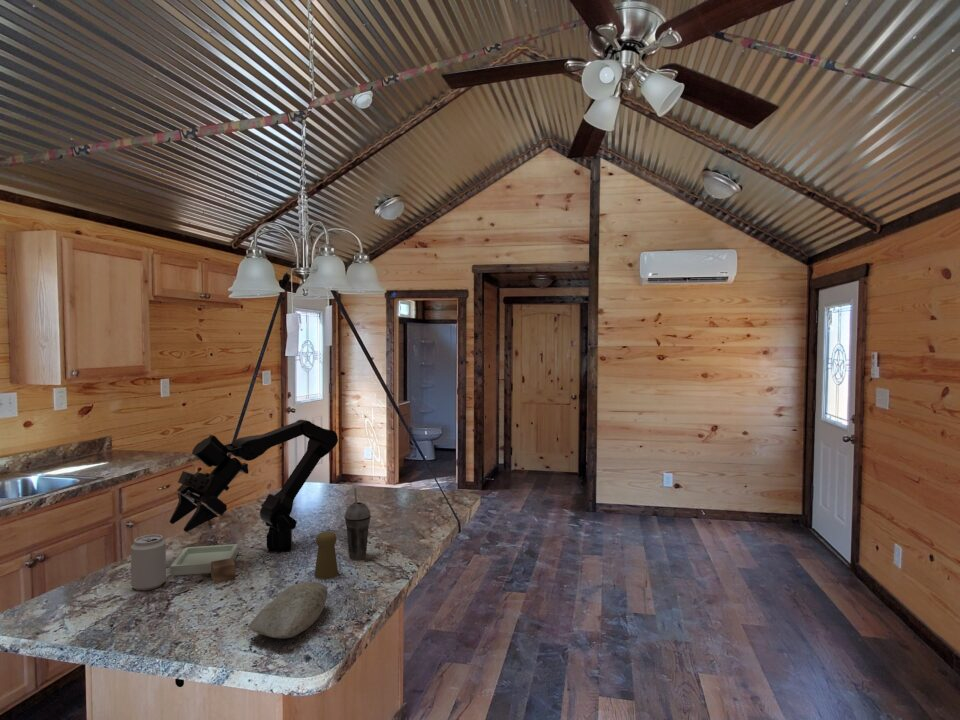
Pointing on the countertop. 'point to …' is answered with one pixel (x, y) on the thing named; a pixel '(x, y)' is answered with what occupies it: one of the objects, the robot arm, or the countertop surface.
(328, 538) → the cork
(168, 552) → the off-white egg
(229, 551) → the tray
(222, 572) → the walnut block
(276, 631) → the rock
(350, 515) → the beverage cup
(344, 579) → the countertop surface
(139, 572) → the can
